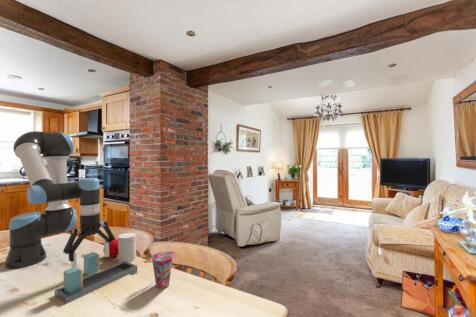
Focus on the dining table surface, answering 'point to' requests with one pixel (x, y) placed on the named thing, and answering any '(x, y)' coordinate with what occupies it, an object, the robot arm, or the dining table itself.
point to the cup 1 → (126, 247)
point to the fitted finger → (73, 280)
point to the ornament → (113, 248)
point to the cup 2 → (162, 268)
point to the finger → (91, 263)
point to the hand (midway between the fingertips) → (91, 262)
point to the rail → (98, 280)
